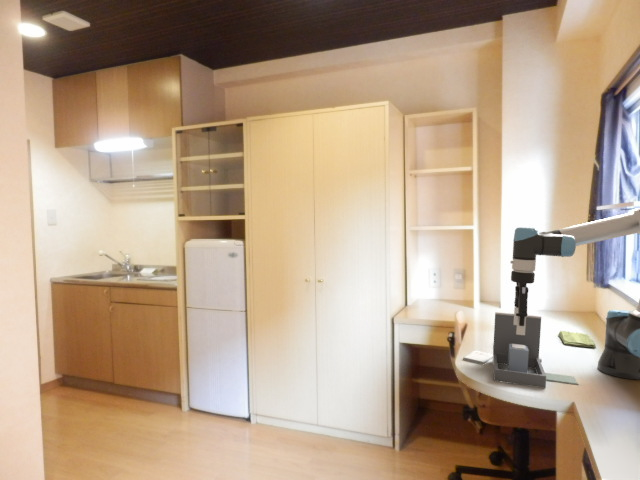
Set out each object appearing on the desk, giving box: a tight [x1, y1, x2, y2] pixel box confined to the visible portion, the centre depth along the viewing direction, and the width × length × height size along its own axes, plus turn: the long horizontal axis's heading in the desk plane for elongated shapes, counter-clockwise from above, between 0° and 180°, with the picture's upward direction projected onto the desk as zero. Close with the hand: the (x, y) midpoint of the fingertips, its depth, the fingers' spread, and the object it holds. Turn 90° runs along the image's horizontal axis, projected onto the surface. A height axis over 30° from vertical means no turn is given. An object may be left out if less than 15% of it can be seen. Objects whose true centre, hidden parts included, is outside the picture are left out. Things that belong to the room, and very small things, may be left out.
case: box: [492, 311, 547, 389], centre depth 162 cm, size 17×21×20 cm
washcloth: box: [557, 330, 597, 349], centre depth 204 cm, size 13×18×3 cm
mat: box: [545, 372, 579, 386], centre depth 159 cm, size 10×7×1 cm
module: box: [507, 344, 529, 373], centre depth 162 cm, size 6×6×10 cm
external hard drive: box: [462, 350, 493, 365], centre depth 179 cm, size 2×8×12 cm
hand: (518, 329), depth 161 cm, fingers open, 13 cm apart
